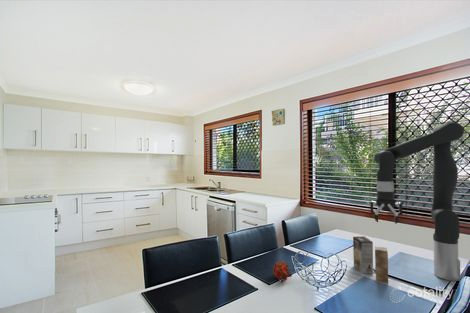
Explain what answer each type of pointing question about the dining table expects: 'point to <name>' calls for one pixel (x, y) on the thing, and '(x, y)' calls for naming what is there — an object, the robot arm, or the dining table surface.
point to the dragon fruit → (281, 270)
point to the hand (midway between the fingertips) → (386, 222)
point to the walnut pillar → (381, 264)
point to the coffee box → (363, 254)
